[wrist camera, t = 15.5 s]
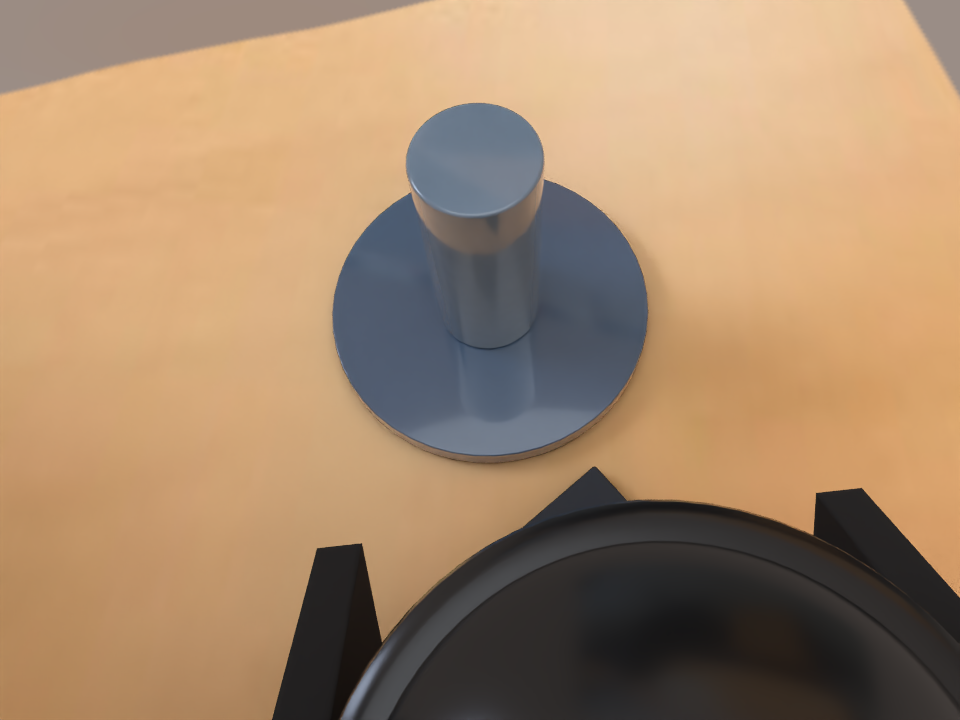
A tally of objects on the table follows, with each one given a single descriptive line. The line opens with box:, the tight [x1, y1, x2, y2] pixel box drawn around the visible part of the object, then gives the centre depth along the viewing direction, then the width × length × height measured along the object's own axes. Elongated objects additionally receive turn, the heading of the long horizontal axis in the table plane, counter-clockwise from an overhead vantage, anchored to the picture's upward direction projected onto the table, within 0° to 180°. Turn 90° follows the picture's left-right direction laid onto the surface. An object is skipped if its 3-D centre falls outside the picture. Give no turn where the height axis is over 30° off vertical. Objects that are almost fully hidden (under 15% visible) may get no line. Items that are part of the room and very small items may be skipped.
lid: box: [332, 103, 648, 463], centre depth 22 cm, size 10×10×8 cm
